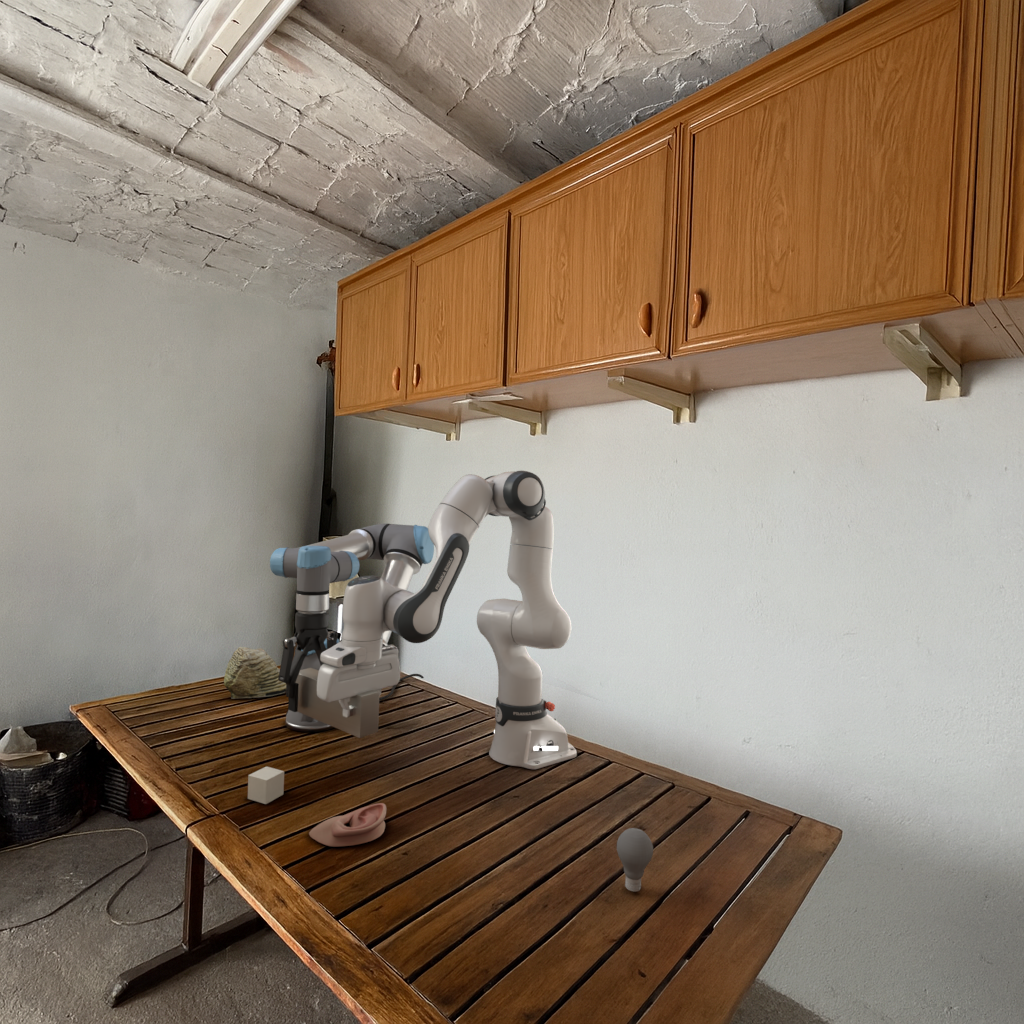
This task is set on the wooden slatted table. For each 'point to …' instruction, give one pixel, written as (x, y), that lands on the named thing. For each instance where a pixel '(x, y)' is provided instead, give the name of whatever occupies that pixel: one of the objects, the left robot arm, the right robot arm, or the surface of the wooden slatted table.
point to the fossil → (252, 675)
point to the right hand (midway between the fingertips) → (359, 712)
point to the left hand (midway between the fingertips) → (308, 706)
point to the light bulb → (634, 856)
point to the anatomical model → (352, 827)
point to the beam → (338, 707)
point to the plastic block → (265, 785)
